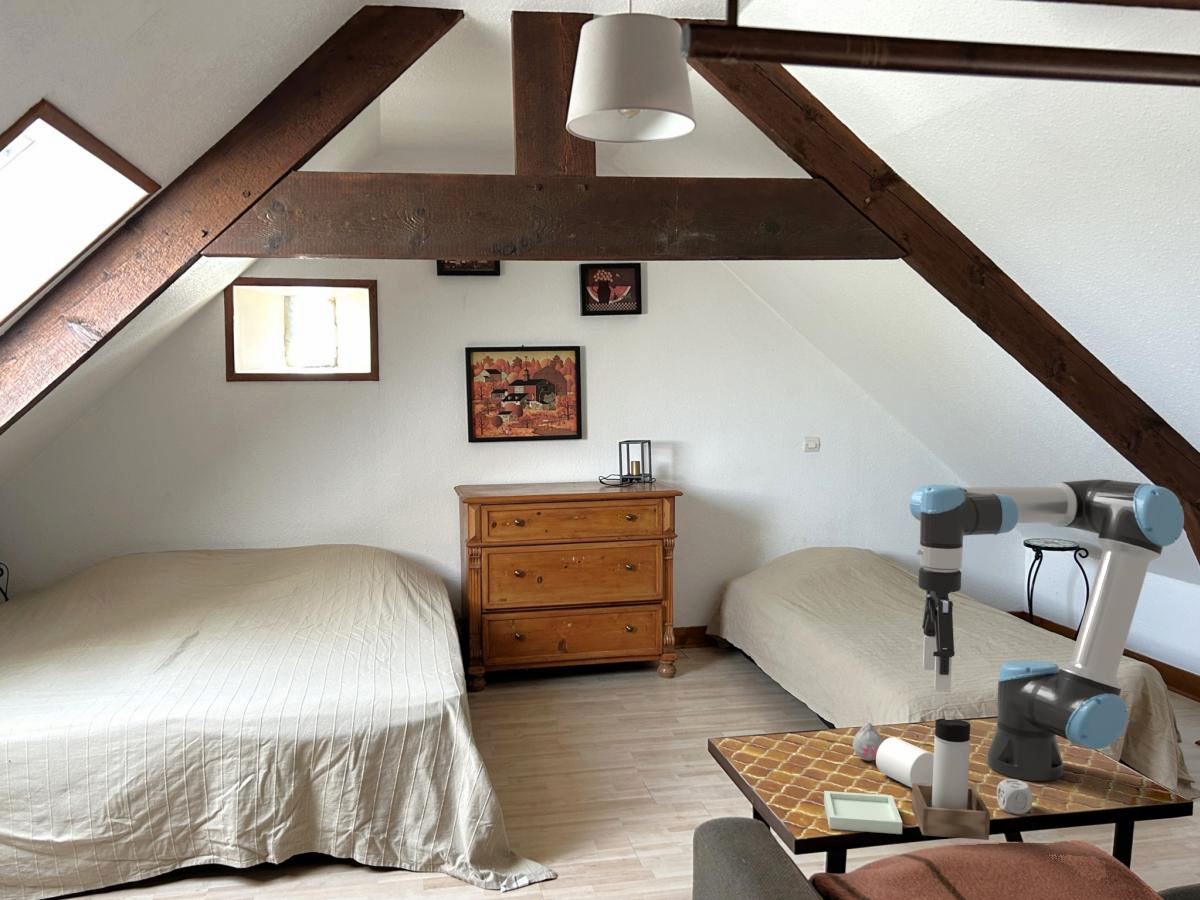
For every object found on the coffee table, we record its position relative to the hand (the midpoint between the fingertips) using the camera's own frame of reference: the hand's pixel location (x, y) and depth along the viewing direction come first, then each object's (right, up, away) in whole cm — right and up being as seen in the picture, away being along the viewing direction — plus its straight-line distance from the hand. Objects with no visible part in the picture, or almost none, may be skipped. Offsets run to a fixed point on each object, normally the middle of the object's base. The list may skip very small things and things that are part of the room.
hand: (936, 680), depth 188 cm
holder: (+2, -27, 0) cm, 27 cm away
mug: (+2, -26, +20) cm, 32 cm away
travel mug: (+2, -27, 0) cm, 27 cm away
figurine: (-5, -25, +31) cm, 40 cm away
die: (+17, -27, +7) cm, 33 cm away
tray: (-14, -26, +2) cm, 30 cm away
